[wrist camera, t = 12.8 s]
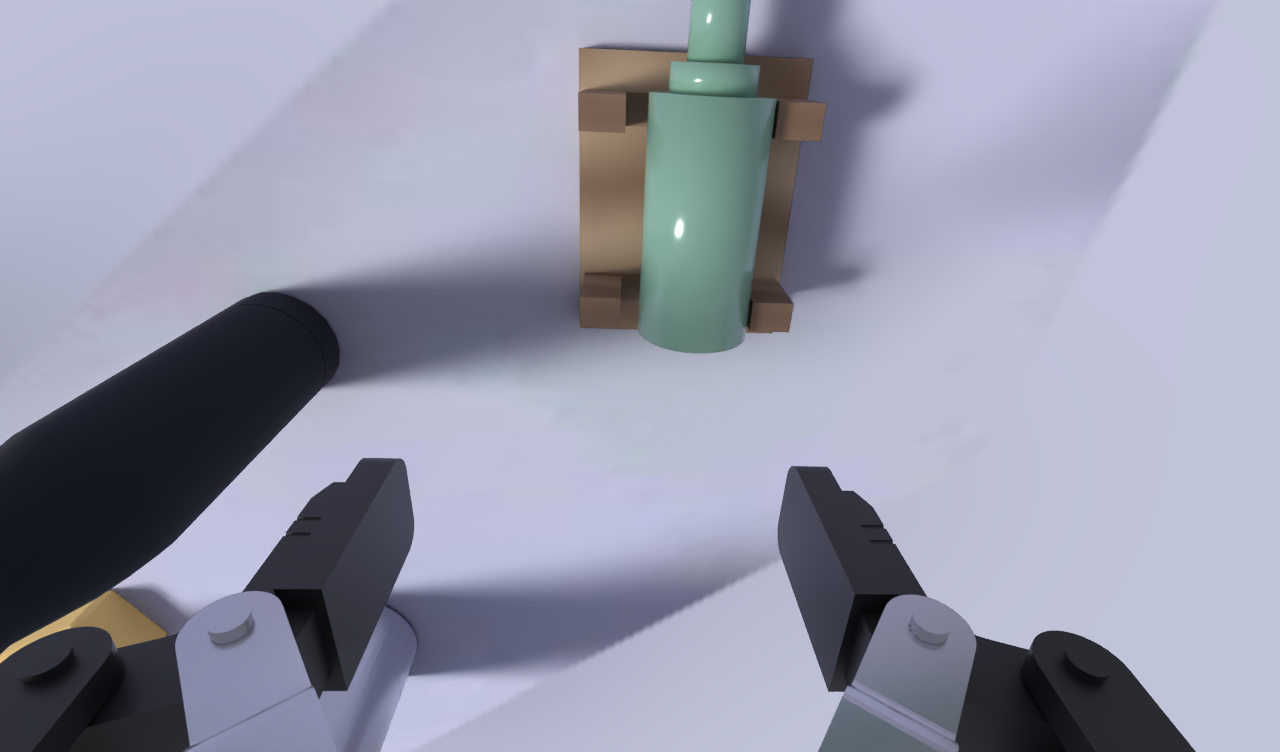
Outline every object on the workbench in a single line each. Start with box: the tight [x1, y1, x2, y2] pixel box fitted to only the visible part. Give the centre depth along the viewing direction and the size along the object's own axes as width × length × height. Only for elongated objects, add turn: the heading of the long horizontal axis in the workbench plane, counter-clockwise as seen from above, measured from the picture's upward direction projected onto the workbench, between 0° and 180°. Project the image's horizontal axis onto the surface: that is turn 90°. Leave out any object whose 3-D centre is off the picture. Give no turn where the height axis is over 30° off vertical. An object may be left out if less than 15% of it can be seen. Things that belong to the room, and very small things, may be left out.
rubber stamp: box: [0, 590, 167, 663], centre depth 41 cm, size 10×6×12 cm, turn 117°
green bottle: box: [638, 0, 777, 353], centre depth 27 cm, size 16×6×6 cm, turn 177°
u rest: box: [578, 48, 827, 333], centre depth 30 cm, size 14×11×5 cm
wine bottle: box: [0, 293, 340, 654], centre depth 22 cm, size 6×6×30 cm
